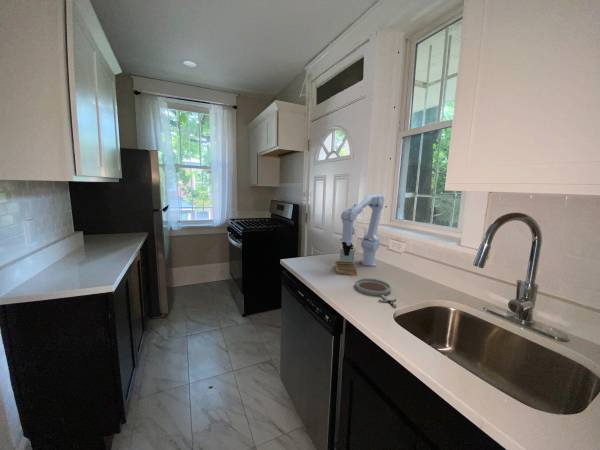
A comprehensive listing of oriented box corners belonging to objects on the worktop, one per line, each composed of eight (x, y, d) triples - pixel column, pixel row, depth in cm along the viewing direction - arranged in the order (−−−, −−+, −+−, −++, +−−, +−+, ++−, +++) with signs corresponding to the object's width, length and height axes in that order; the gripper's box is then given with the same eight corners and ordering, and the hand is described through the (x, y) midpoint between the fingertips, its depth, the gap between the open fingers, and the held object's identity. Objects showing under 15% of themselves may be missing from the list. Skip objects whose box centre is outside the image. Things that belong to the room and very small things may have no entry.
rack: (334, 266, 153) (335, 260, 153) (353, 267, 153) (353, 261, 152) (336, 274, 140) (337, 268, 139) (356, 275, 139) (357, 268, 139)
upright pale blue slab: (339, 260, 147) (339, 248, 146) (353, 261, 146) (353, 249, 145) (339, 261, 145) (340, 249, 143) (353, 262, 144) (354, 250, 143)
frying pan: (376, 304, 100) (349, 278, 127) (376, 311, 101) (349, 283, 128) (414, 302, 104) (380, 276, 131) (413, 308, 104) (379, 281, 131)
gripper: (339, 229, 150) (338, 251, 152) (341, 233, 136) (340, 258, 138) (351, 229, 150) (349, 251, 152) (355, 234, 135) (353, 258, 138)
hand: (346, 255), depth 145 cm, fingers closed on upright pale blue slab, 2 cm apart
